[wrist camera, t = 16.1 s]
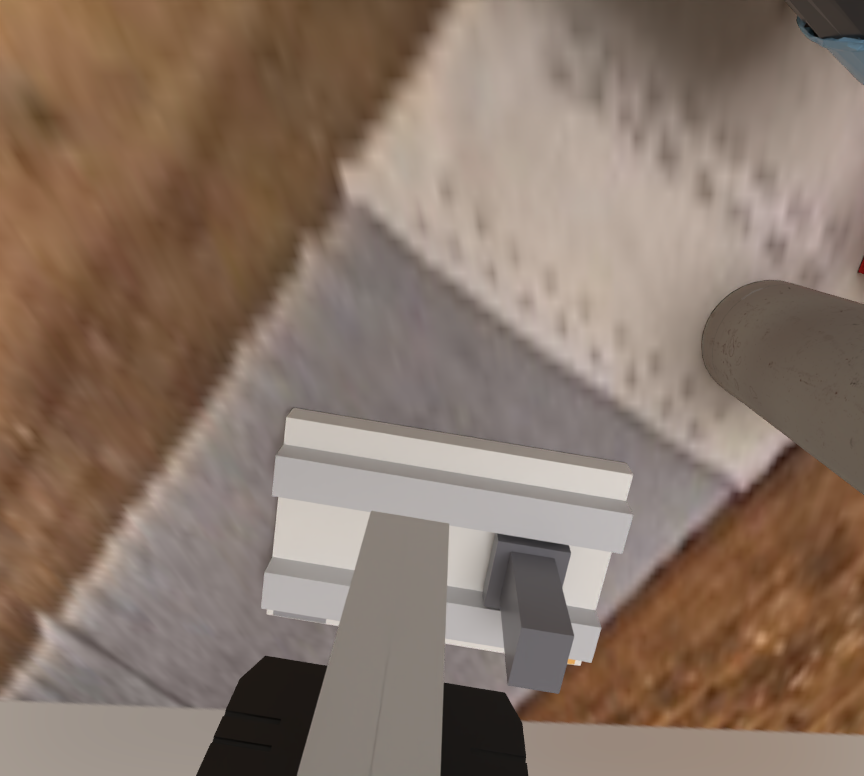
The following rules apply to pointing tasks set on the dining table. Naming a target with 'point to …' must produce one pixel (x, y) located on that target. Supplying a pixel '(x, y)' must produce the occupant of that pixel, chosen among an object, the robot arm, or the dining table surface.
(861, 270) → the red rectangular block
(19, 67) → the dining table surface
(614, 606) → the dining table surface
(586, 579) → the switch board
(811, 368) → the thermos bottle
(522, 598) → the switch lever
